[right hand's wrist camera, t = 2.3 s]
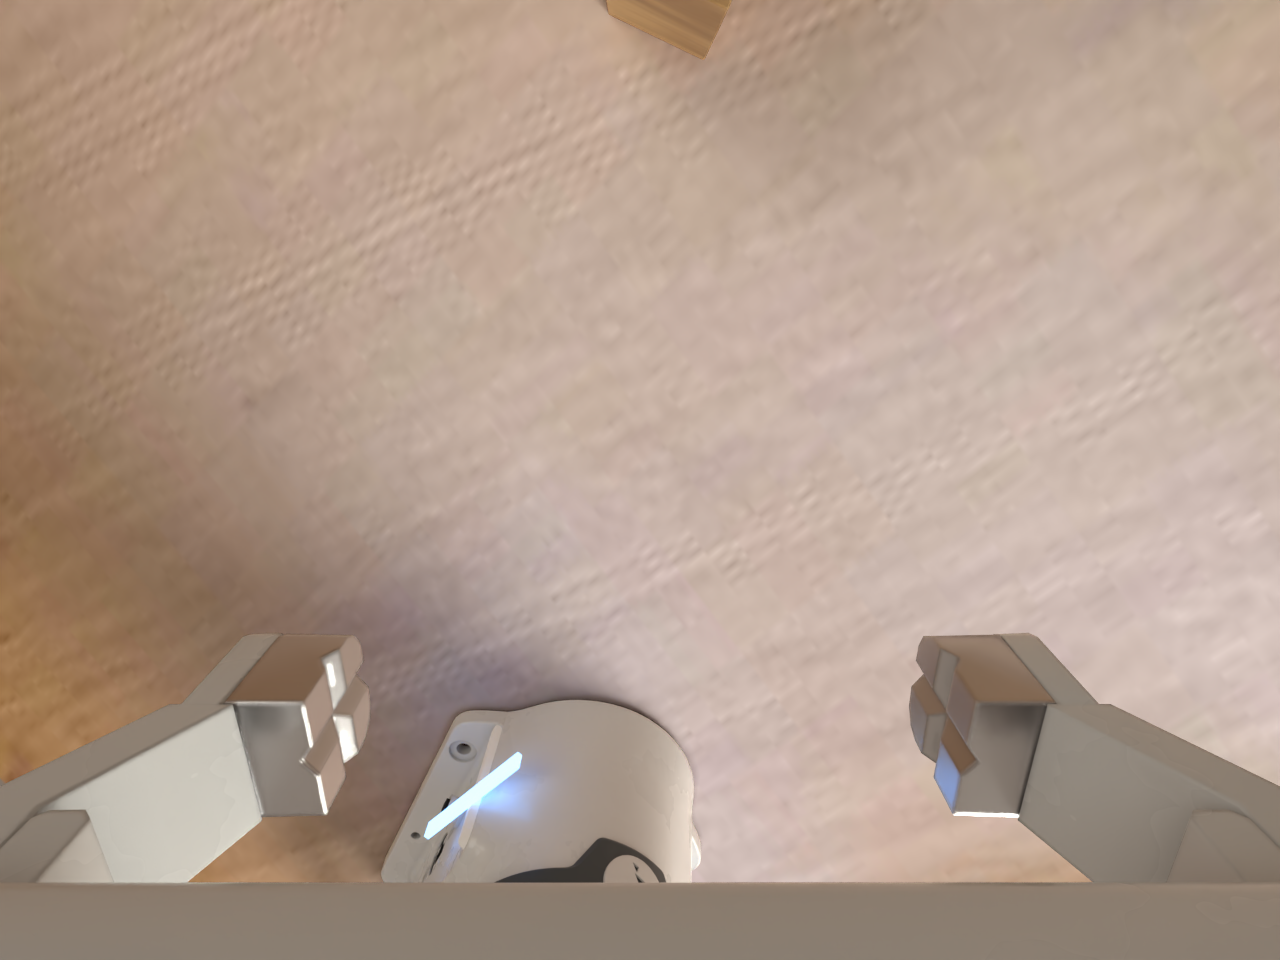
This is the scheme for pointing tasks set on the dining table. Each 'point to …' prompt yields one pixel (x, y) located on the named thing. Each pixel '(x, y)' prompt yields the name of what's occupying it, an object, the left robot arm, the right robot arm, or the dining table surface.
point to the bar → (675, 20)
